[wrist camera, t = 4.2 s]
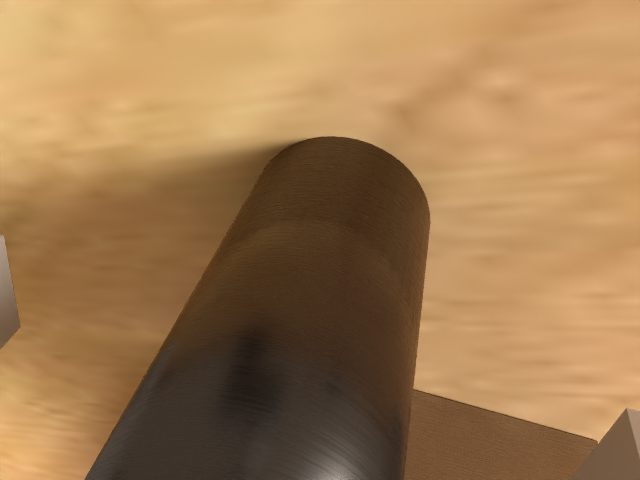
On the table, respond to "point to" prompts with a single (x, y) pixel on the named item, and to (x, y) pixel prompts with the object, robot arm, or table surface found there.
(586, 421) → the table surface
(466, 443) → the grey block with hole
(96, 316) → the table surface
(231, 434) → the lens
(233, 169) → the table surface
